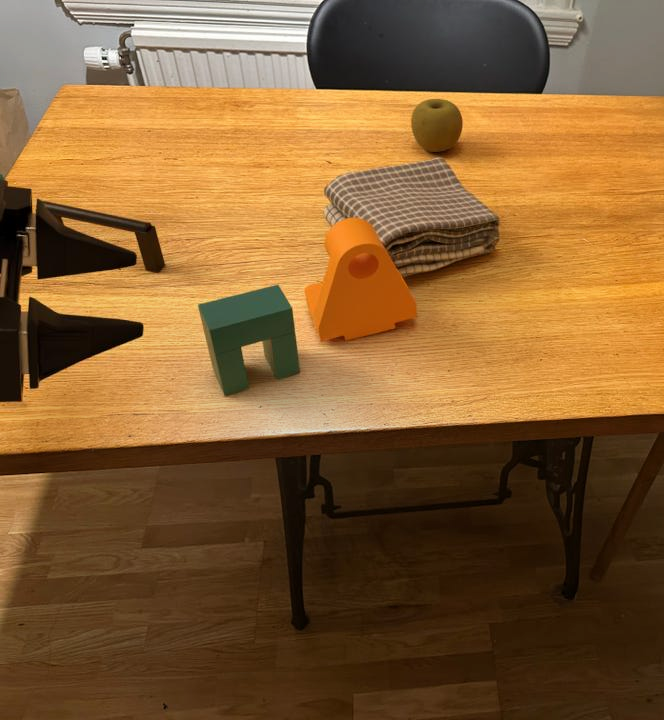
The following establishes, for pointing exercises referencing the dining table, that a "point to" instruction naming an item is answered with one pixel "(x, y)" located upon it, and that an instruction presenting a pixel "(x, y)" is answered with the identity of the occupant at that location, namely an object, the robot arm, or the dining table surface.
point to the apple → (436, 124)
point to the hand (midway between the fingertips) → (139, 292)
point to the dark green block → (249, 334)
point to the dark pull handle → (142, 230)
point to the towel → (416, 213)
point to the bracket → (358, 285)
